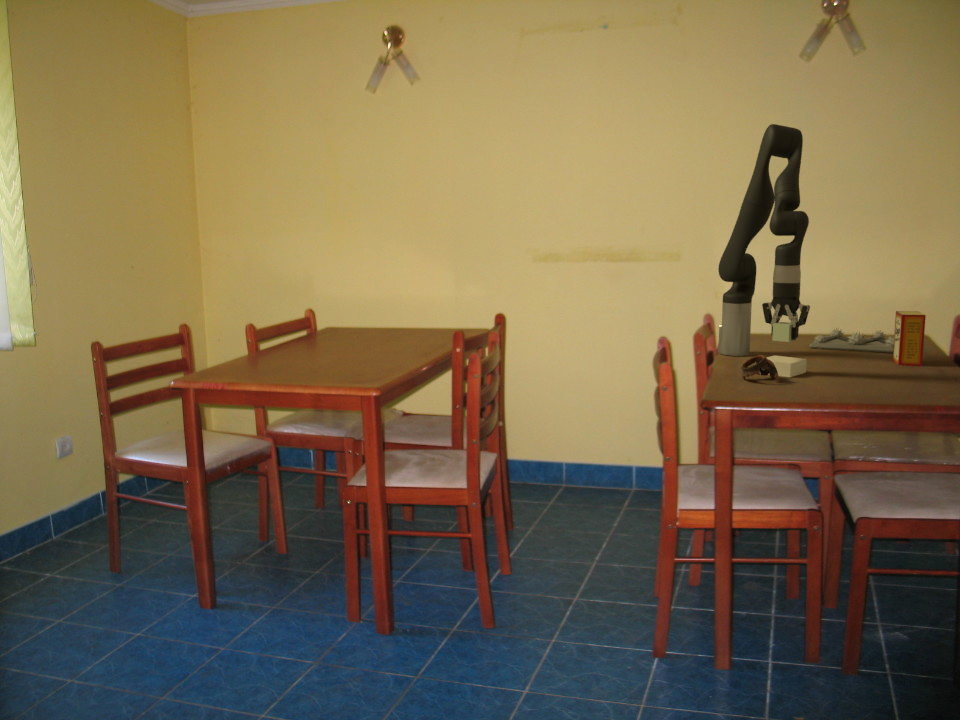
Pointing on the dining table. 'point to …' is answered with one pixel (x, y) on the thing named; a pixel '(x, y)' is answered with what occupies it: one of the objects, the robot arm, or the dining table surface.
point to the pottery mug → (760, 368)
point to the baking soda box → (909, 338)
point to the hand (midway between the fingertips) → (784, 338)
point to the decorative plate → (854, 342)
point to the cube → (782, 332)
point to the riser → (788, 365)
